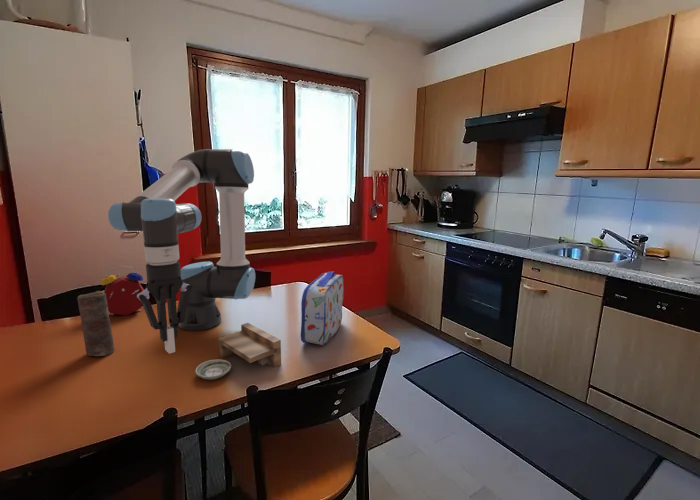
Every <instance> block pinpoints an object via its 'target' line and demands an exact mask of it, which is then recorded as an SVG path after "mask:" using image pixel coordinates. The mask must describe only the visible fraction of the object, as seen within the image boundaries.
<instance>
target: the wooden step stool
mask: <svg viewBox="0 0 700 500" xmlns="http://www.w3.org/2000/svg"><path fill="white" fill-rule="evenodd" d="M240 326H241V327H240V329H241V330H239V331H238V330H237V331H235V332H233V333H230V334H227V335H224V336H221V337H218V350H219V351H218V352H219V356H220V357H221V358H222V359H224V358H226V357H230V356H232V355H234V354H236V355H237V356H238V357H240V358H242V359H243V360H245V361H246V362H248V363H249V364H252V363H254V362H256V361H257V363H258V364H260V365H261V366H264V365H266V364H269V365H270V366H272V367H274V368H276V367H278V366H280V365H282V340H281V339H280V338H278V337H276V336H274V335H272V334H270V332H269V333H268V332H267V331H264V330H263V329H261V328H259V327H257V326H255V325H253V324H251V323H249V322H246V323H242V324H241V325H240Z"/></svg>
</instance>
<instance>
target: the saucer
mask: <svg viewBox="0 0 700 500" xmlns="http://www.w3.org/2000/svg"><path fill="white" fill-rule="evenodd" d="M231 369H232V363H231V362H230V361H228V360H226V359H218V358H217V359H209V360H206V361H204V362H201V363H200V364H198V366H196V367H195V371H194V372H195V375H196V376H197V377H199V378H202V379H204V380H217V379H219V378H222V377H223V376H225V375H227V374H228V373H229V372H230V371H231Z"/></svg>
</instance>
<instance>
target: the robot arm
mask: <svg viewBox="0 0 700 500" xmlns="http://www.w3.org/2000/svg"><path fill="white" fill-rule="evenodd" d="M254 179H255V169H254V164H253V161H252V158H251V156H250V155H249V153H248V152H247V151H246V150H242V149H234V148H232V149H231V148H230V149H229V148H228V149H226V148H224V149H223V148H221V149H220V148H219V149H217V148H215V149H212V148H211V149H210V148H206V149H205V148H204V149H198V150H195V151H193V152H191V153H188V154H186V155H184V156H182V157H181V158H179V159H178V160H176V161H175V162H174V163H173V165H172V166H171V169H170V170H169V171H167V172H166V173H165V174H163V176H161V177H160V178H158V179H157V180H156V181H155V182H153V183H152V184H151V185H150V186H148V187H147V188H145V189H144V190H143V191H142V192H141V193H139V194H138V195H136V196H135V197H134V198H132V199H131V200H130V201H128V202H125V201H122V202H116V203H113V204H112V205H111V206H110V207H109V209H108V211H107V218H108V221H109V224H110V226H111V227H112V228H113V229H114V230H116V231H123V232H124V231H127V232H142V234H143V247H144V249H143V250H144V261H145V262H146V264H145V270H146V271H145V272H146V283H145V289H144V291H142V292H141V293H137V294H136V297H137V298H138V299H139V300H140V301H141V302H142V307H143V310H144V312H145V314H146V315H145V316H146V317H147V319H148V322H149V324H150V327H151V328H153V329H155V330H159V339H160V340H161V341H162V342H164V351H166V353H168V354H172V353H176V342H175V339H178V337H179V333H178V328H180V329H182V330H184V331H195V332H196V331H203V330H204V331H205V330H208V329H211V328H214V327H217V326H219V324H221V322H222V314H221V312H220V310H219V307H218V305H217V302H216V299H229V300H231V299H232V300H242V299H243V300H245V299H247V298H249V297H250V296H251V294H252V293H253V289H254V287H255V283H256V271H255V268H253V267H251V266H250V261H249V260H248V259H247V258H246V227H245V226H246V222H245V219H246V218H245V215H246V214H245V213H246V212H245V193H246V192H247V191H248V190H249V185H251V184H252V183H253V182H254ZM200 183H203V184H204V183H213V184H214V188H215V191H217V192H218V194H219V195H218V198H219V199H218V200H219V229H220V230H219V233H220V234H219V235H220V236H219V237H220V240H219V241H220V259H219V260H218V261H217V262H216V266H215V265H214V263H213V262H212V261H200V262H194V263H190V264H187V265H185V266H182V267H181V263H180V262H179V260H180V245H179V234H182V233H183V234H184V233H186V232H190V231H193V230H196V228H199V226H200V225H201V223H202V220H203V219H202V212H201V210H200V209H199V207H197V205H196V204H195V205H194V204H193V203H186V202H181V203H176V201H177V199H178V198H179V197H180V196H182V195H183V193H184V192H186V191H187V190H188V189H190V188H191V187H192V188H193V187H195V186H197V185H198V184H200ZM179 292H180V293H179ZM178 293H179V298H177V295H178ZM150 295H152V296H153V297H154V298H155V302H156V309H157V310H156V311H157V312H156V313H157V315H156V314H155V311H154V308H153V306H152V304H151V303H152V302H151V301H150V300H149V299H150ZM177 299H178V300H177ZM177 301H178V303H177ZM166 304H167V306H166ZM177 304H178V306H177ZM166 307H167V308H166ZM167 313H168V319H167ZM167 320H168V321H167Z"/></svg>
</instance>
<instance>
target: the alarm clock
mask: <svg viewBox="0 0 700 500" xmlns="http://www.w3.org/2000/svg"><path fill="white" fill-rule="evenodd" d="M121 267H123V268H129V269H130V270H131V272H130V273H128V274H126V276H121V273H118V274H116V275H115V274H112V270H115V269H118V268H121ZM143 280H144V278H143V276H142V275H141V274H140V273H138V271H134V269H133V267H132V266H127V265H118V266H116V267H113V268H109V274H105V277H104V278H103V279H101V281H100V285H101V286H105V288H104V291H103V292H104V293H105V294H106V299H107V305H108V312H109V314H110V315H112V316H113V315H121V316H125V317H126V315H127V316H129V315H131V314H132V313H134V312H136V311H139V312H142V310H141V309H142V307H143V305H142V302H141V301H140V300H139V299H138V298H137V297H136V294H137V293H141V292H142V291H144V290H145V289H144V287H143V285H141V283H140V282H141V281H143Z"/></svg>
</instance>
